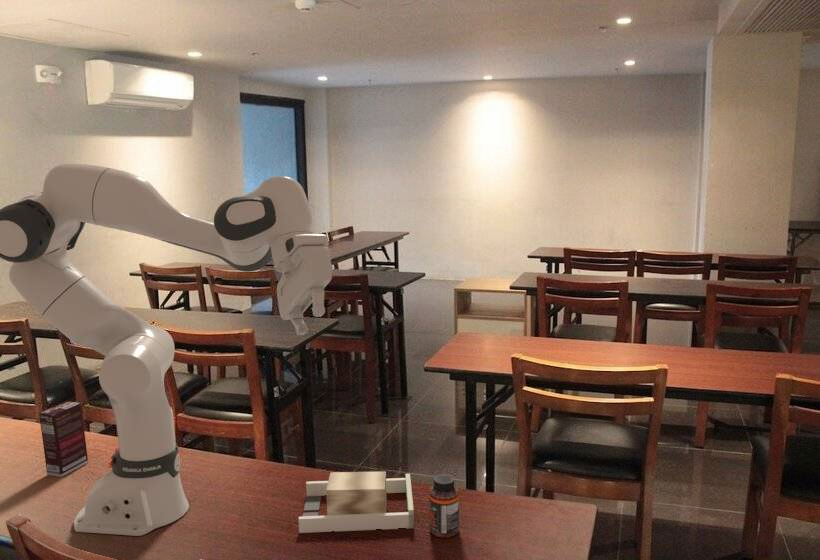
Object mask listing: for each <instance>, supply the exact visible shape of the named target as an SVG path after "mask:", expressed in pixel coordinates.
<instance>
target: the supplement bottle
mask: <svg viewBox="0 0 820 560" xmlns="http://www.w3.org/2000/svg"><path fill="white" fill-rule="evenodd" d="M428 505H429V507H428V511H429V512H428V513H429V515H428V517H429V521H428V522H429V531H430V533H431V534H432V535H434V536H436V537H439V538H443V539H444V538H445V539H446V538H451V537H454V536H456V535H457V534H458V533H459V531H460V491H459V489H458V487H457V486H455V478H454V477H453V476H452V475H450V474H446V473H445V474H444V473H443V474H442V473H441V474H438V475H435V476H434V477H433V486H431V487H430V488H429V491H428Z"/></svg>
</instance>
